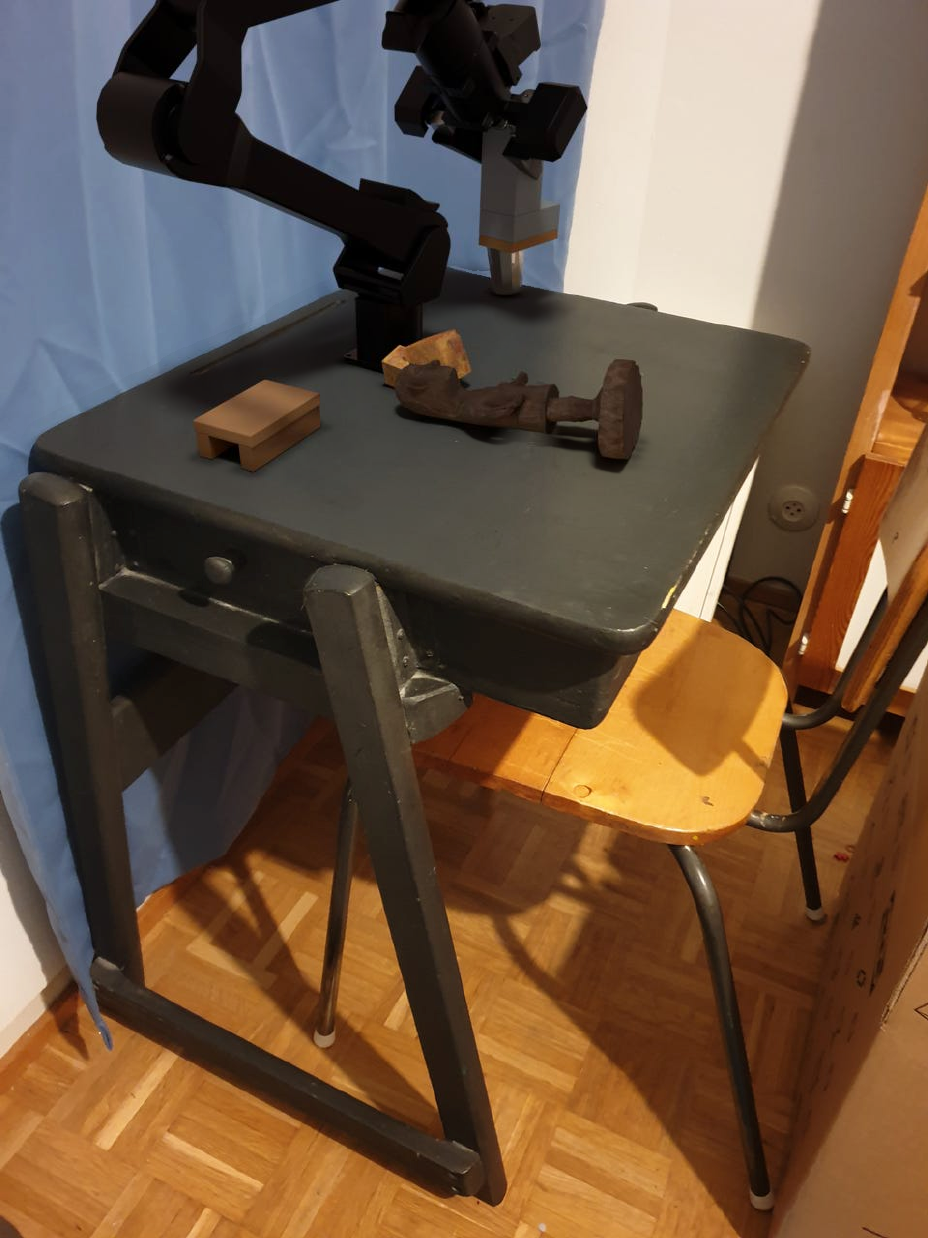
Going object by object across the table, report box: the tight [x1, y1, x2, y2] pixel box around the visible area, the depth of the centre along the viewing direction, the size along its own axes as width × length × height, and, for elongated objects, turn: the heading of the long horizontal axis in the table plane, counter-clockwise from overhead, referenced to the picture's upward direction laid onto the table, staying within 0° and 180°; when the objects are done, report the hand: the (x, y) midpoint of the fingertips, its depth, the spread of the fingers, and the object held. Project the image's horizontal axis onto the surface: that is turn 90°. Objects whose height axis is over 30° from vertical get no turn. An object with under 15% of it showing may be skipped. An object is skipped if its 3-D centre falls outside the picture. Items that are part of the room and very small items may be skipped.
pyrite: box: [382, 328, 473, 388], centre depth 82 cm, size 5×7×4 cm
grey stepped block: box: [478, 126, 561, 253], centre depth 93 cm, size 8×4×12 cm, turn 141°
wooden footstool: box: [192, 379, 322, 473], centre depth 73 cm, size 9×5×3 cm, turn 153°
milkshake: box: [486, 247, 524, 296], centre depth 102 cm, size 5×5×10 cm
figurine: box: [394, 358, 644, 460], centre depth 75 cm, size 9×8×20 cm
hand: (519, 171), depth 92 cm, fingers closed on grey stepped block, 4 cm apart
